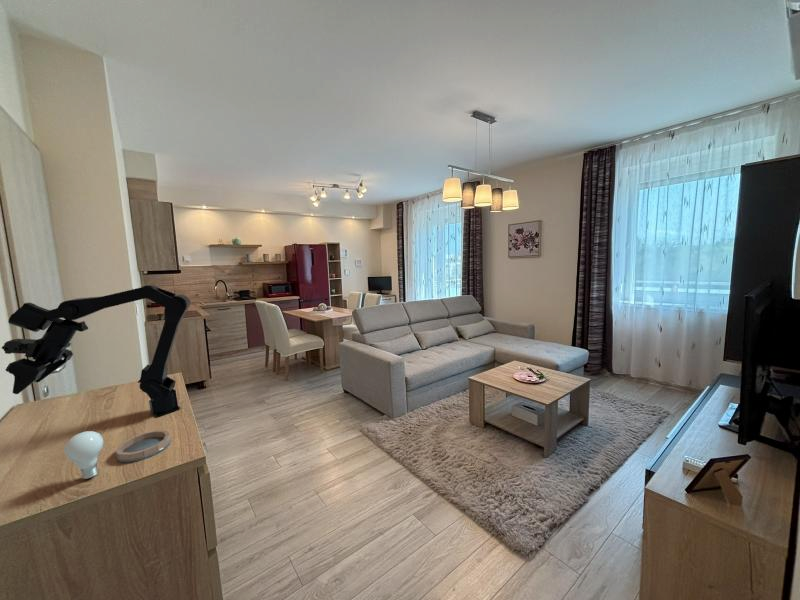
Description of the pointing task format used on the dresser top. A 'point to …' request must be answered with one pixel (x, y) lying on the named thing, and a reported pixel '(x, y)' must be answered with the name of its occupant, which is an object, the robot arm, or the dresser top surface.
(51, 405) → the dresser top surface
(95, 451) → the lightbulb
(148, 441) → the round dish
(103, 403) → the dresser top surface
